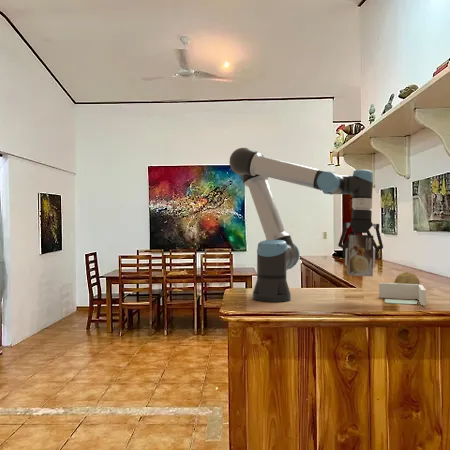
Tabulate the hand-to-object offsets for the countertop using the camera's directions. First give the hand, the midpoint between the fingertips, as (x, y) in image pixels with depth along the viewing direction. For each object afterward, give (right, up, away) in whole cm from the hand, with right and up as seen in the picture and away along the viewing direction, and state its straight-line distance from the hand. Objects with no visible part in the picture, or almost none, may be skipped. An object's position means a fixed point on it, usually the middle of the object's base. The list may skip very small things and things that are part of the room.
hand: (359, 265), depth 191 cm
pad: (+15, -14, -3) cm, 21 cm away
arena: (+16, -14, -1) cm, 21 cm away
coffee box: (0, -4, 0) cm, 4 cm away
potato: (+24, -14, +15) cm, 32 cm away
